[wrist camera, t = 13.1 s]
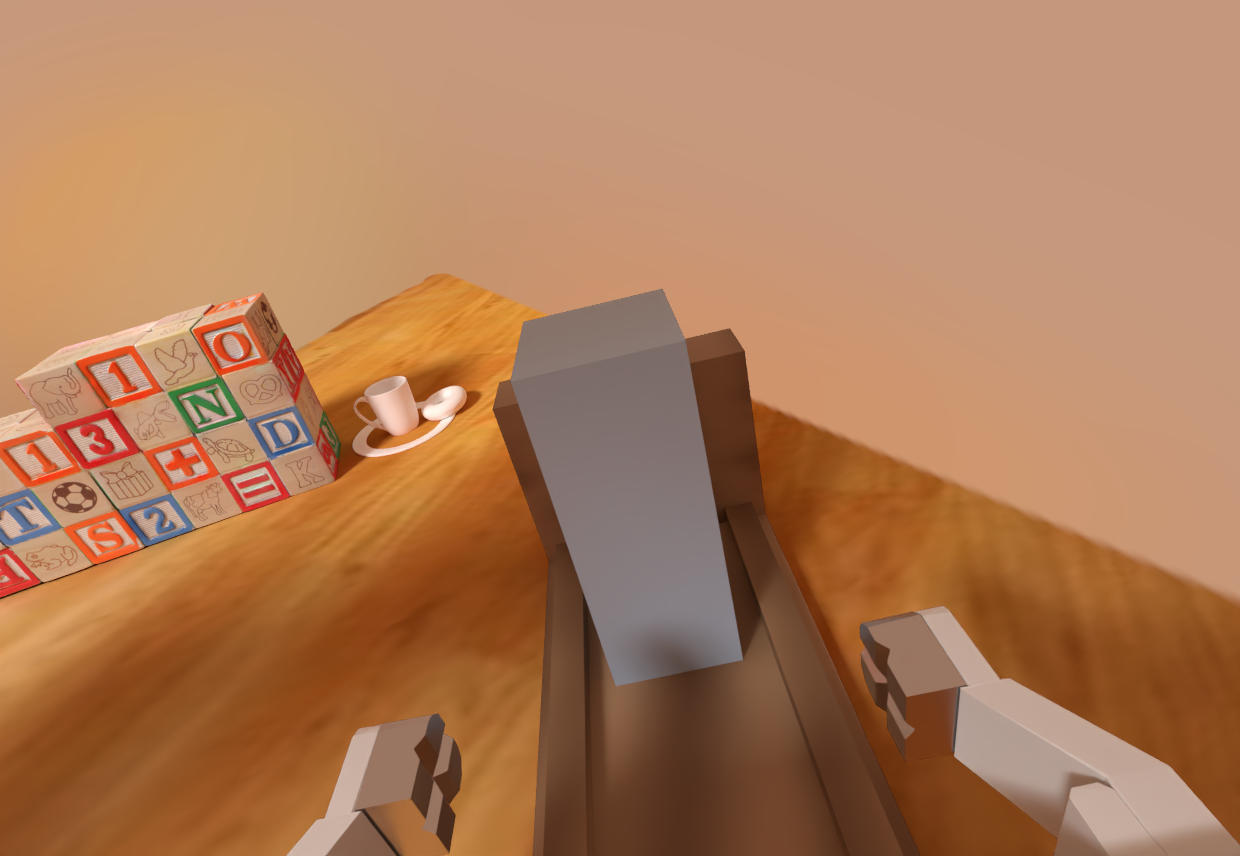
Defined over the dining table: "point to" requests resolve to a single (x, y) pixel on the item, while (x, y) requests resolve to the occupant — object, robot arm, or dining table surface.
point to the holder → (702, 690)
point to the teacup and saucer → (404, 413)
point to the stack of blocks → (155, 439)
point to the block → (630, 482)
